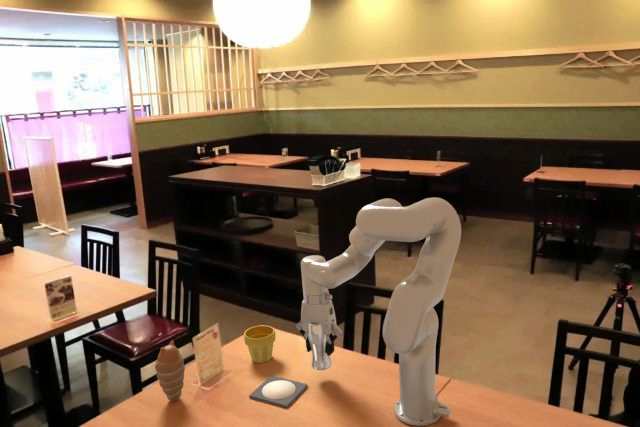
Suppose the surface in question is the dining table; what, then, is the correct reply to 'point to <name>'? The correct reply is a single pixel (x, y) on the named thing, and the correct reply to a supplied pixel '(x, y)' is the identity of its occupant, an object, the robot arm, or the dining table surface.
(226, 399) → the dining table surface
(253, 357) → the plant pot
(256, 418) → the dining table surface
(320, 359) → the beer glass
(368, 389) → the dining table surface
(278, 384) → the mat
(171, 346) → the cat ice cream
